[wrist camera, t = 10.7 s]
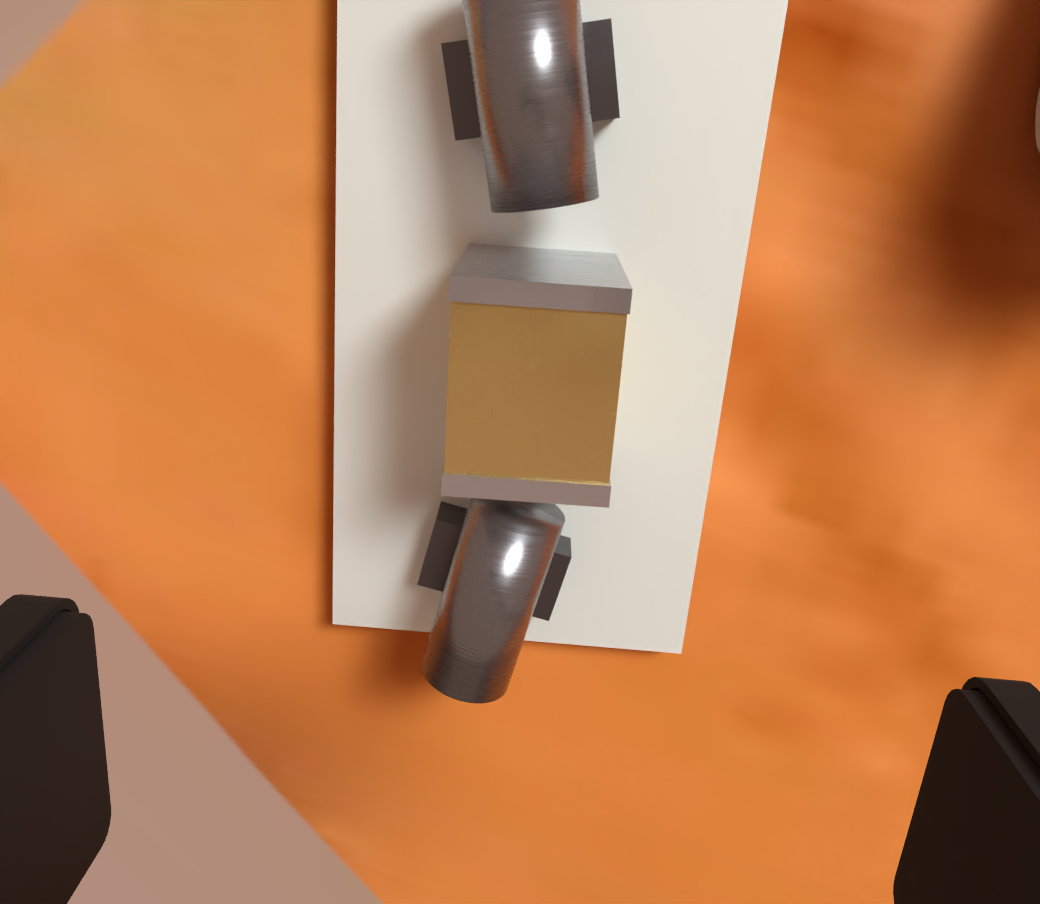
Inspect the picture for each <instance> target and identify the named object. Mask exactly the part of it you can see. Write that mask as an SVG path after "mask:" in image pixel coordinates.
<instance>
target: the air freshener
mask: <svg viewBox="0 0 1040 904" xmlns="http://www.w3.org/2000/svg"><path fill="white" fill-rule="evenodd" d="M1035 133H1036V144H1037V148H1038V150H1039V153H1040V88H1039V94H1038V99H1037V106H1036V121H1035Z"/></svg>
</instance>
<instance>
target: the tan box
mask: <svg viewBox="0 0 1040 904" xmlns="http://www.w3.org/2000/svg"><path fill="white" fill-rule="evenodd" d="M632 290H633V289H632V286H631V284H630V282H629V280H628V278H627V276H626V274H625V271H624V269H623V267H622V265H621V263H620V261H619V259H618V256H617V254H616V253H603V252H588V251H574V250H560V249H546V248H531V247H517V246H503V245H488V244H474V243H469V244H468V246H467V248H466V249H465V251H464V253H463V254H462V256H461V257H460V259H459V261H458V262H457V264H456V266H455V267H454V269H453V271H452V272H451V274H450V275H449V293H448V301H449V302H451V307H450V333H449V359H448V385H447V411H446V438H445V464H444V468H443V471H442V481H441V496H452V497H466V498H480V499H494V500H508V501H522V502H535V503H549V504H563V505H577V506H591V507H605V508H609V503H610V494H611V481H610V472H611V462H612V453H613V444H614V434H615V425H616V416H617V406H618V397H619V388H620V378H621V369H622V360H623V350H624V341H625V332H626V322H627V314H630V309H631V300H632Z"/></svg>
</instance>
